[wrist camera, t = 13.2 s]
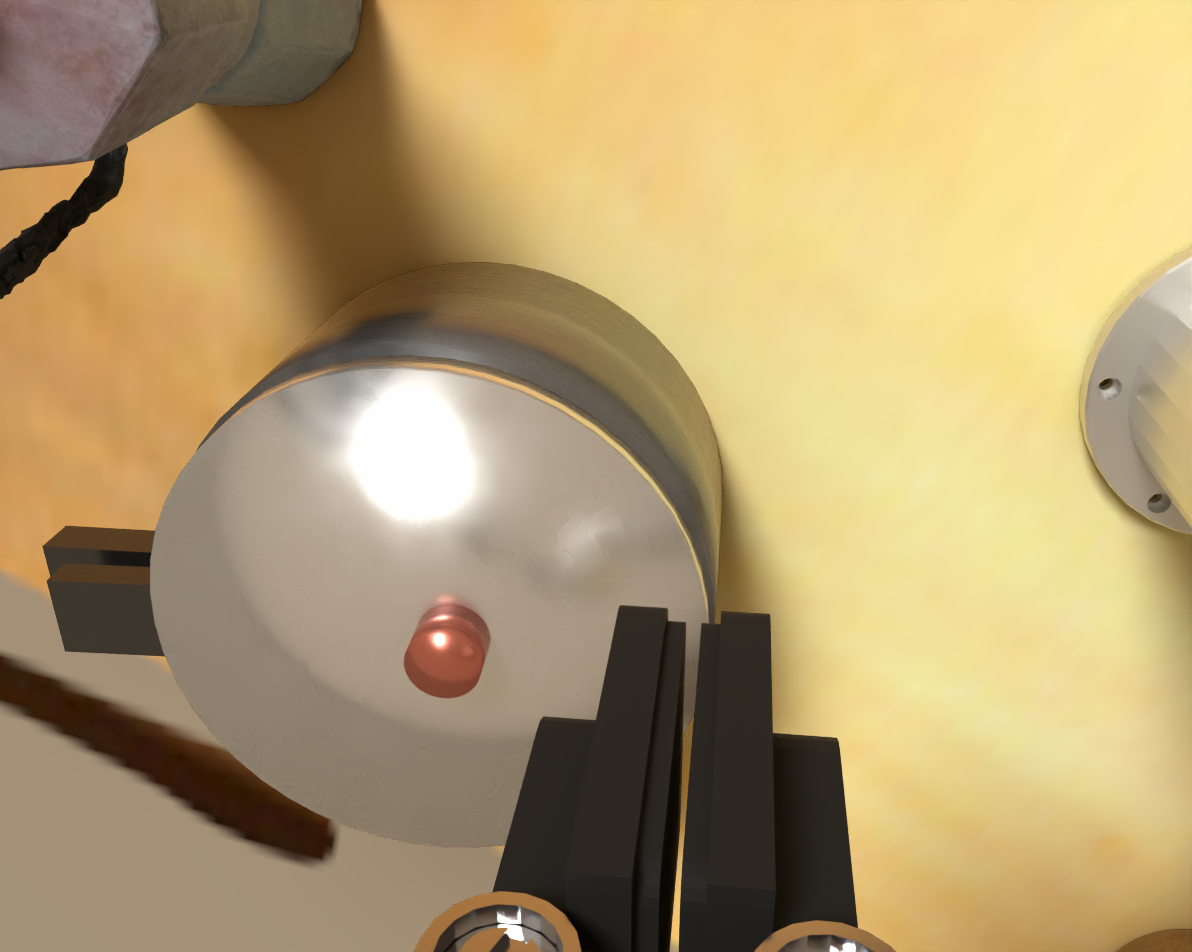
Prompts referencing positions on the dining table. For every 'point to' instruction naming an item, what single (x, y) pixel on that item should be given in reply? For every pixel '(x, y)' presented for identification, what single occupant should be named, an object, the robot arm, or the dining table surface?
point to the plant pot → (1162, 942)
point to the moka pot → (142, 83)
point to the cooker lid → (397, 587)
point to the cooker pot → (517, 346)
